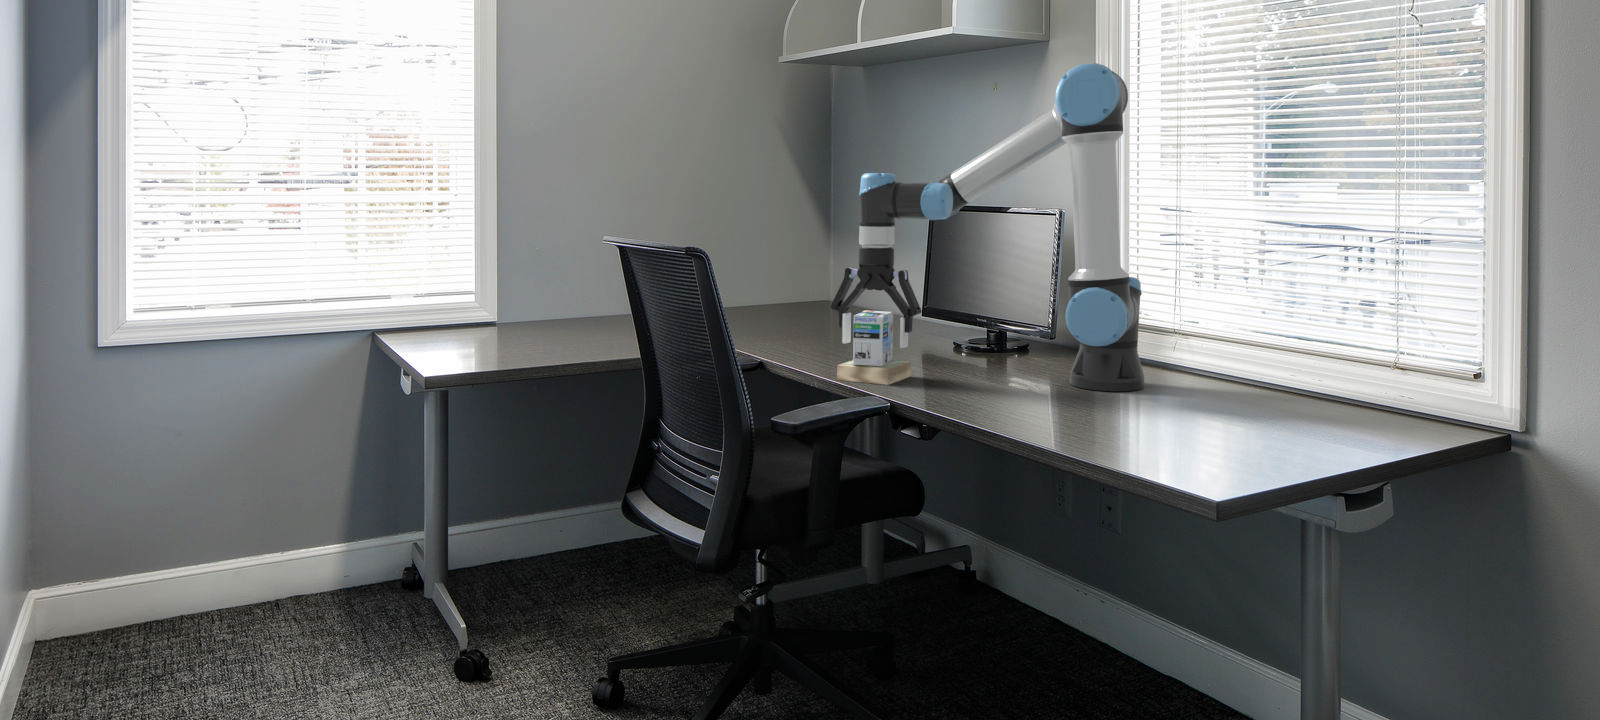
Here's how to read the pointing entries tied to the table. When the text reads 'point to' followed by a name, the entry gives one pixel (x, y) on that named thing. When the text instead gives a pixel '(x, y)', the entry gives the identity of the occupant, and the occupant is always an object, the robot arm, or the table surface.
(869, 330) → the light bulb box
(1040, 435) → the table surface
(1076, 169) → the robot arm
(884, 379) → the block
